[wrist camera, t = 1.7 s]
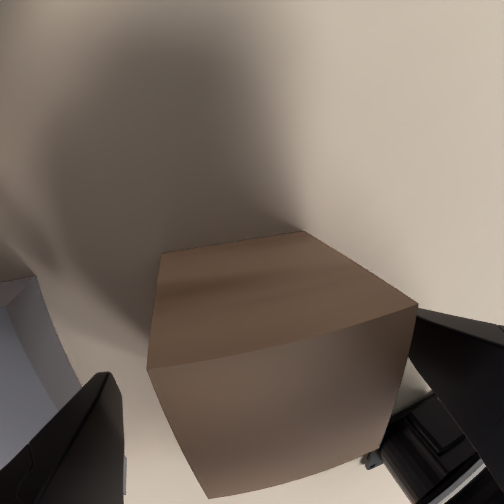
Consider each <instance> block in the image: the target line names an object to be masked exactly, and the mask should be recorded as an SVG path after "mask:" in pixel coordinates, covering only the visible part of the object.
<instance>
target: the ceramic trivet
mask: <svg viewBox="0 0 504 504" xmlns="http://www.w3.org/2000/svg"><path fill="white" fill-rule="evenodd" d="M81 388H82V386H81V384H80V382H79V381H78V379H77V377H76V375H75V373H74V371H73V369H72V367H71V365H70V363H69V360H68V358H67V356H66V354H65V352H64V350H63V347H62V345H61V343H60V341H59V338H58V336H57V334H56V331H55V329H54V326H53V324H52V321H51V319H50V316H49V314H48V311H47V308H46V305H45V303H44V300H43V297H42V294H41V291H40V288H39V285H38V282H37V279H36V276H33V277H28V278H23V279H17V280H12V281H6V282H1V283H0V470H1V469H2V468H3V467H4V466H5V465H7V464H8V463H9V462H10V461H11V460H12V459H13V458H14V457H15V456H16V455H17V454H18V453H19V452H20V451H21V450H22V449H23V448H24V447H25V446H26V444H29V441H30V440H31V439H32V438H33V437H34V436H35V435H36V434H37V433H38V432H39V431H40V430H41V429H42V428H43V427H44V426H45V425H46V424H47V423H48V422H49V421H50V420H51V419H52V418H53V417H54V416H55V415H56V414H57V413H58V412H59V411H60V409H61V408H62V407H63V406H64V405H65V404H66V403H67V402H68V401H69V400H70V399H71V398H72V397H73V396H74V395H75V394H76V393H77V392H78V391H79V390H80V389H81ZM126 470H127V458H126V457H125V455H124V475H123V495H126Z"/></svg>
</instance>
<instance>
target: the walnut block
mask: <svg viewBox="0 0 504 504" xmlns="http://www.w3.org/2000/svg"><path fill="white" fill-rule="evenodd" d="M417 310H418V303H417V302H415V301H414V300H412V299H411V298H409V297H408V296H406V295H405V294H403V293H402V292H400V291H399V290H397V289H396V288H394V287H393V286H391V285H390V284H388V283H387V282H385V281H384V280H382V279H381V278H379V277H377V276H376V275H374V274H373V273H371V272H370V271H368V270H366V269H365V268H363V267H362V266H360V265H359V264H357V263H355V262H354V261H352V260H351V259H349V258H347V257H346V256H344V255H343V254H341V253H339V252H338V251H336V250H335V249H333V248H331V247H330V246H328V245H326V244H325V243H323V242H322V241H320V240H318V239H317V238H315V237H313V236H312V235H310V234H308V233H307V232H305V231H301V232H294V233H288V234H281V235H275V236H268V237H262V238H255V239H249V240H243V241H236V242H230V243H224V244H217V245H211V246H205V247H199V248H193V249H187V250H180V251H174V252H168V253H162V255H161V261H160V267H159V273H158V279H157V286H156V292H155V299H154V307H153V314H152V322H151V331H150V340H149V349H148V359H147V372H148V374H149V377H150V380H151V382H152V385H153V387H154V390H155V392H156V395H157V397H158V399H159V402H160V404H161V407H162V409H163V411H164V413H165V416H166V418H167V420H168V422H169V425H170V427H171V429H172V431H173V433H174V435H175V438H176V440H177V442H178V444H179V446H180V448H181V450H182V452H183V454H184V456H185V458H186V460H187V462H188V464H189V465H190V467H191V469H192V471H193V473H194V475H195V477H196V478H197V480H198V482H199V484H200V486H201V487H202V489H203V491H204V493H205V494H206V496H207V498H208V499H212V498H218V497H225V496H231V495H236V494H241V493H246V492H251V491H256V490H260V489H264V488H268V487H272V486H276V485H280V484H284V483H287V482H291V481H294V480H298V479H301V478H304V477H307V476H310V475H313V474H316V473H319V472H322V471H325V470H328V469H330V468H333V467H336V466H338V465H341V464H344V463H346V462H348V461H351V460H353V459H356V458H358V457H360V456H363V455H365V454H367V453H369V452H372V451H374V450H376V449H378V448H379V446H380V444H381V441H382V439H383V436H384V433H385V431H386V428H387V425H388V422H389V419H390V416H391V413H392V410H393V407H394V404H395V401H396V398H397V394H398V391H399V388H400V384H401V381H402V377H403V373H404V370H405V366H406V362H407V358H408V354H409V349H410V345H411V340H412V336H413V331H414V326H415V321H416V315H417Z"/></svg>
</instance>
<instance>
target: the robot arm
mask: <svg viewBox="0 0 504 504" xmlns="http://www.w3.org/2000/svg"><path fill="white" fill-rule="evenodd" d="M408 357H409V359H410V360H411V362H412V364H413V365H414V367H415V368H416V370H417V371H418V372H419V374H420V375H421V376H422V378H423V379H424V380H425V381H426V383H427V384H428V385H429V387H430V388H431V389H432V391H433V392H434V393H435V395H433V396H431V397H429V398H428V399H426V400H424V401H422V402H420V403H419V404H417V405H415V406H413V407H411V408H409V409H407V410H405V411H403V412H401V413H399V414H397V415H395V416H393V417H391V418H390V419H389V422H388V425H387V428H386V431H385V433H384V436H383V439H382V441H381V444H380V446H379V448H378V449H376V450H374V451H372V452H370V454H369V456H368V459H367V461H366V464H365V467H366V469H367V470H370V469H372V468H375V467H377V466H379V465H381V464H383V463H384V465H385V466H386V468H387V469H388V470H389V472H390V473H391V475H392V476H393V478H394V479H395V481H396V482H397V483H398V485H399V486H400V488H401V489H402V491H403V492H404V493H405V495H406V496H407V498H408V499H409V500H410V502H411V503H412V504H438V503H439V502H440V501H441V500H443V499H444V498H445V497H446V496H448V495H449V494H450V493H451V492H453V491H454V490H455V489H456V488H457V487H458V486H460V485H461V484H462V483H463V482H464V481H465V480H466V479H467V478H469V477H470V476H471V475H472V474H473V473H474V472H475V471H476V470H477V469H478V468H479V467H480V466H481V465H482V464H483V463H484V464H485V465H486V467H485V468H484V469H483V470H482V471H481V472H480V473H479V474H478V475H477V476H476V477H474V478H473V479H472V480H471V481H470V482H469V483H468V484H467V485H466V486H465V487H463V488H462V489H461V490H460V491H459V492H458V493H456V494H455V495H454V496H453V497H452V498H450V499H449V500H448V501H447V502H445V503H444V504H504V326H502V325H498V326H497V325H496V324H492V323H487V322H482V321H477V320H472V319H468V318H463V317H458V316H453V315H449V314H444V313H439V312H435V311H430V310H426V309H421V308H418V310H417V315H416V321H415V326H414V331H413V336H412V340H411V345H410V349H409V354H408ZM123 475H124V427H123V407H122V395H121V392H120V390H119V388H118V386H117V384H116V381H115V379H114V377H113V375H112V374H111V373H110V372H99V373H96V374H95V375H94V376H93V377H92V378H91V379H90V380H89V381H88V382H87V383H86V384H85V385H84V386H83V387H82V388H81V389H80V390H79V391H78V392H77V393H76V394H75V395H74V396H73V397H72V398H71V399H70V400H69V401H68V402H67V403H66V404H65V405H64V406H63V407H62V408H61V409H60V411H59V412H58V413H57V414H56V415H55V416H54V417H53V418H52V419H51V420H50V421H49V422H48V423H47V424H46V425H45V426H44V427H43V428H42V429H41V430H40V431H39V432H38V433H37V434H36V435H35V436H34V437H33V438H32V439H31V440H30V441H29V444H26V446H25V447H24V448H23V449H22V450H21V451H20V452H19V453H18V454H17V455H16V456H15V457H14V458H13V459H12V460H11V461H10V462H9V463H8V464H7V465H5V466H4V467H3V468H2V469H1V470H0V504H124V500H123Z"/></svg>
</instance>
